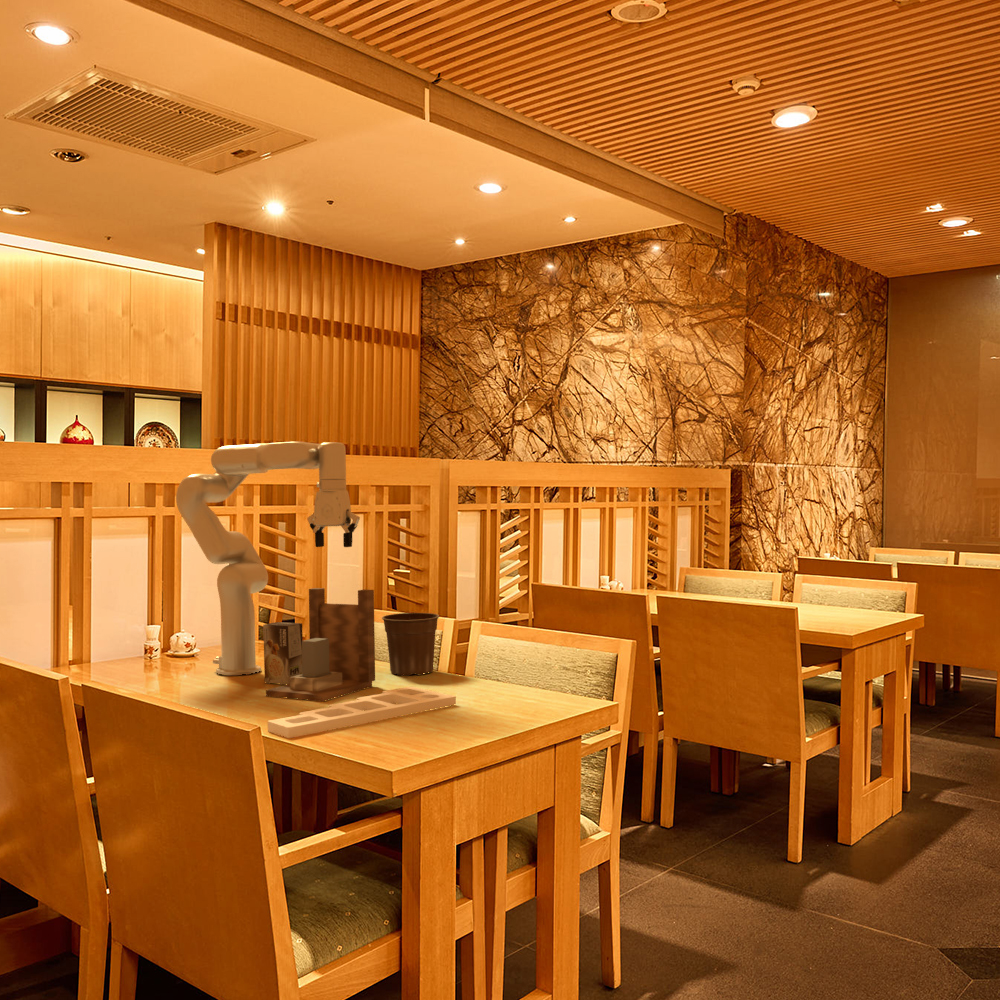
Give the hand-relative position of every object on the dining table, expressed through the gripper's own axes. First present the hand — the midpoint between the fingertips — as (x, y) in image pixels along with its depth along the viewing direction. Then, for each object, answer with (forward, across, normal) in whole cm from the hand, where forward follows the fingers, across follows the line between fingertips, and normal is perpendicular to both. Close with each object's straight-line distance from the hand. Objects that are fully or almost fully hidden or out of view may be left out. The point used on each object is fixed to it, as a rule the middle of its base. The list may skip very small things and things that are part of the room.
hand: (333, 546), depth 275 cm
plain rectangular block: (+35, +10, -22) cm, 42 cm away
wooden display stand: (+36, +10, -20) cm, 43 cm away
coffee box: (+36, -7, -14) cm, 40 cm away
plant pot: (+36, +17, +12) cm, 42 cm away
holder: (+37, +35, -40) cm, 65 cm away
